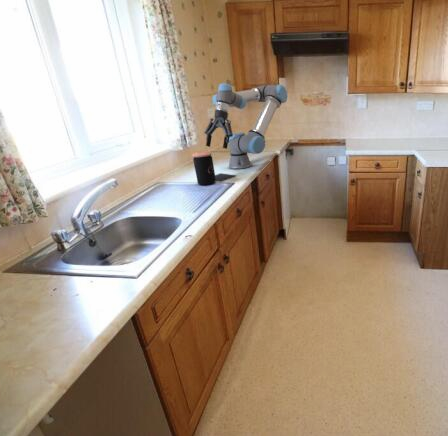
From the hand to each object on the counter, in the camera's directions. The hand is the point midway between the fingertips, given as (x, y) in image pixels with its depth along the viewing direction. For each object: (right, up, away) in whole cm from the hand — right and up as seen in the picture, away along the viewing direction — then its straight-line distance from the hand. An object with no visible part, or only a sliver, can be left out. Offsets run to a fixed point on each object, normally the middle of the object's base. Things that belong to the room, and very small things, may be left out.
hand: (216, 147), depth 190 cm
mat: (-1, -16, +14) cm, 21 cm away
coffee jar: (-7, -21, +4) cm, 22 cm away
